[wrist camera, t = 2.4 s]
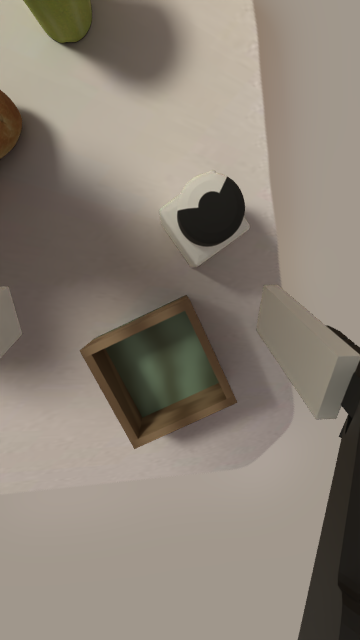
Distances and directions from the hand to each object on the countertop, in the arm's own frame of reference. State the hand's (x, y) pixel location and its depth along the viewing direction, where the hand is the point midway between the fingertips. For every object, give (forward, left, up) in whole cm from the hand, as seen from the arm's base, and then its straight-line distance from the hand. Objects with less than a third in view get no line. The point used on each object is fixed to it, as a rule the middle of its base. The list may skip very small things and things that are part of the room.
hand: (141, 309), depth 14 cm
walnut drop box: (-4, -9, -22) cm, 24 cm away
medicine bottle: (+8, +5, -22) cm, 24 cm away
